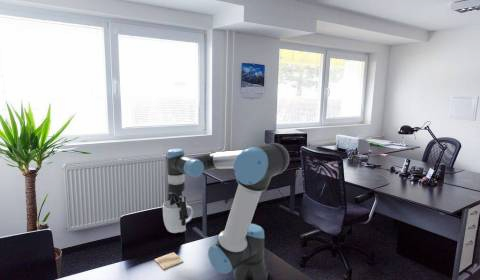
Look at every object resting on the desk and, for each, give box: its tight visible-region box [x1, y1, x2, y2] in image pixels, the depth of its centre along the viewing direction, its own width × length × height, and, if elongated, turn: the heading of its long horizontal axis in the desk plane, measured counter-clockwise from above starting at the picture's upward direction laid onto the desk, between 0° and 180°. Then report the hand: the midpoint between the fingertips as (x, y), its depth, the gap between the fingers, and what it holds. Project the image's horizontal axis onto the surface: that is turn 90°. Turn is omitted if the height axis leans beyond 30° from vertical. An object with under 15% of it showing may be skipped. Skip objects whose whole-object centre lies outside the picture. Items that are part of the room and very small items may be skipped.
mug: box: [162, 200, 194, 234], centre depth 142 cm, size 15×11×13 cm
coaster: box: [154, 251, 184, 271], centre depth 143 cm, size 10×10×1 cm
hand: (177, 226), depth 142 cm, fingers closed on mug, 11 cm apart
